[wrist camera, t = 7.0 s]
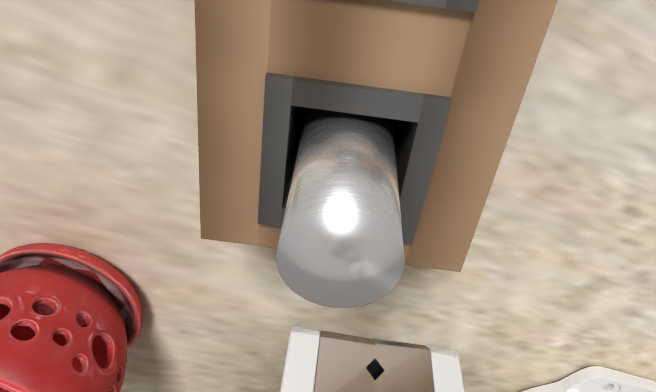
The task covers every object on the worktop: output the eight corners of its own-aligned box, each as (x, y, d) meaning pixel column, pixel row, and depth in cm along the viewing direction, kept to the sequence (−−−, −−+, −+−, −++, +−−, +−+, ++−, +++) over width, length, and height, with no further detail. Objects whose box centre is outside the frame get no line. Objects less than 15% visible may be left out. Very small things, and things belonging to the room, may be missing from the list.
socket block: (554, -266, 21) (681, -329, 13) (437, 160, 33) (461, 278, 24) (255, -311, 21) (179, -405, 12) (242, 134, 32) (198, 244, 24)
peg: (399, 85, 24) (416, 220, 15) (383, 161, 26) (391, 314, 18) (310, 73, 23) (280, 202, 15) (302, 150, 26) (272, 299, 18)
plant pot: (-11, 200, 37) (-149, 337, 27) (173, 263, 39) (108, 410, 29) (-19, 316, 44) (-131, 458, 34) (137, 364, 46) (75, 510, 36)
